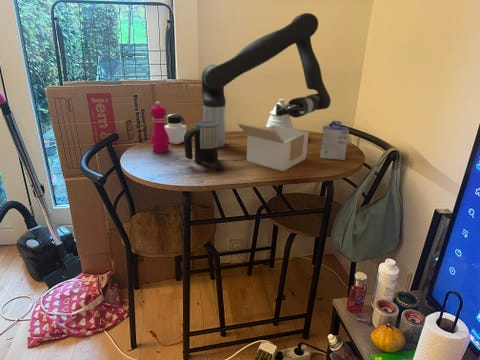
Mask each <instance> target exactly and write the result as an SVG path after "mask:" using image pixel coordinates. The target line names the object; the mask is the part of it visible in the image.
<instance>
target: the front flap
mask: <svg viewBox="0 0 480 360" xmlns="http://www.w3.org/2000/svg"><path fill="white" fill-rule="evenodd" d="M236 125H238V127H239V128H240V129H241V130H242V131H243V132H244V133H245V134H246V135H247V136H248V135H249V136H253V137H257V138H262V139H266V140H271V141H275V142H279V143H284V142H283V140H282V139H281V138H280V137H279V136H278V134H277V133H276V132H275V131H274V130H270V129H265V127H260V126H255V125H252V124H251V125H250V124H246V123H239V122H237V123H236Z"/></svg>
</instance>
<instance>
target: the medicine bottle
mask: <svg viewBox="0 0 480 360" xmlns="http://www.w3.org/2000/svg"><path fill="white" fill-rule="evenodd" d="M166 117H167V125H164V127H165V130H166V132H167V134H168V136H169V143H168V144H172V143H173V145H179V144H181V142H182V143H184V135H185V133H186V132H187V125H185V124H183V122H182V121H183V120H182V115H180V114H178V113H173V114H168V115H167V116H166Z"/></svg>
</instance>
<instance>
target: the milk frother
mask: <svg viewBox="0 0 480 360" xmlns="http://www.w3.org/2000/svg"><path fill="white" fill-rule="evenodd" d="M193 124H194V128H189V129H188V130H186V133H185V135H184V142H183V143H184V154H185V155H184V156H185V158H186V159H188V160H192V159H193V158H194V163H196V164H199V165H204V166H207V167H211V168H213V169H215V170H218V171H220V170H222V169H224V168H225V167H224V165H223V164H222V163H221V162H219V161H220V160H219V147H218V125H219V123H218V122H215V121H204V120H198V121H195V122H193ZM193 137H194V157H193V142H192V140H193Z"/></svg>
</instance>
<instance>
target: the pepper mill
mask: <svg viewBox="0 0 480 360" xmlns="http://www.w3.org/2000/svg"><path fill="white" fill-rule="evenodd" d="M166 114H167V110H166V107H164V106H163V105H161V102H160V101H155V105H153V106H152V107H151V108H150V115H151V116H152V117H151V118H152V119H151V121H152V122H153V131H152V134H151V137H150V139H151V140H150V141H151V143H152V145H153V146H152V150H153V152H156V153H165V151H166V152H168V151H169V145H168V144H169V143H168V142H169V136H168V134H167V132H166V130H165V127H164V126H165V122H166Z"/></svg>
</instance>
